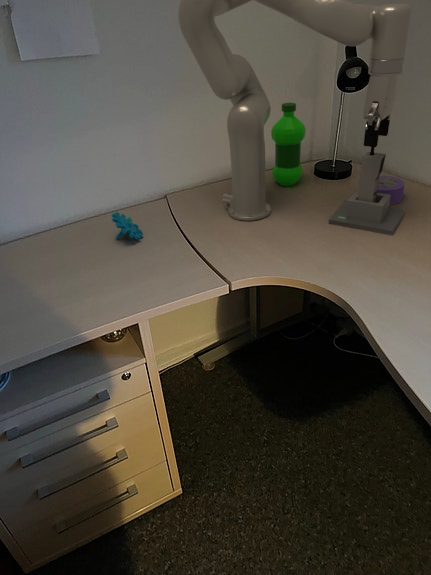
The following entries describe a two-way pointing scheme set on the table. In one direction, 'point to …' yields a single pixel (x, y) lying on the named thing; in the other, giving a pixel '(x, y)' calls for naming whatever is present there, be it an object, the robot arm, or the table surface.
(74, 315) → the table surface
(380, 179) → the tape roll
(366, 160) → the vintage mobile phone
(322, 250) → the table surface
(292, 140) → the plastic bottle
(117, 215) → the teal bumpy irregular piece
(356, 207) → the charging dock
